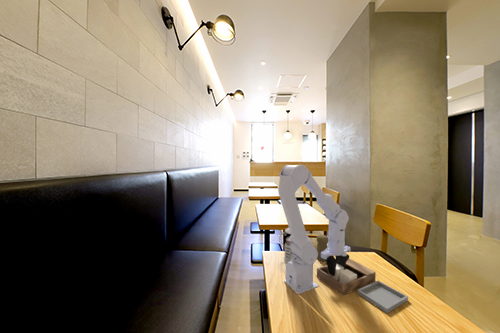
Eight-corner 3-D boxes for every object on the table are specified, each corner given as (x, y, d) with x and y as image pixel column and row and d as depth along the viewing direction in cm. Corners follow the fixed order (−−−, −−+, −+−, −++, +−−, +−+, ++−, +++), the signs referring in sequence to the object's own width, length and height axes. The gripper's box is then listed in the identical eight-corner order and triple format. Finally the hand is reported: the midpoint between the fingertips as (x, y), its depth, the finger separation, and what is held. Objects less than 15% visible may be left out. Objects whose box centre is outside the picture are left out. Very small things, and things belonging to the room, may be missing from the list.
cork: (331, 262, 82) (331, 238, 81) (317, 262, 82) (318, 238, 82) (325, 255, 88) (326, 233, 88) (313, 255, 88) (313, 233, 88)
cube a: (336, 280, 68) (336, 269, 68) (327, 274, 72) (328, 264, 72) (343, 277, 70) (343, 267, 70) (334, 272, 73) (335, 262, 73)
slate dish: (387, 314, 53) (387, 308, 53) (357, 294, 61) (357, 289, 61) (408, 301, 58) (408, 296, 58) (378, 285, 66) (378, 280, 66)
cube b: (349, 288, 63) (349, 277, 63) (339, 282, 67) (339, 271, 67) (356, 285, 65) (356, 274, 65) (346, 279, 69) (346, 268, 69)
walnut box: (343, 296, 60) (343, 284, 60) (316, 276, 71) (316, 267, 71) (375, 281, 68) (375, 271, 68) (347, 266, 79) (347, 257, 78)
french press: (301, 269, 76) (302, 210, 76) (275, 261, 82) (276, 206, 82) (306, 259, 84) (307, 205, 84) (283, 252, 90) (284, 202, 90)
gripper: (332, 246, 64) (331, 284, 64) (358, 239, 70) (357, 273, 70) (316, 238, 70) (316, 273, 70) (341, 233, 77) (341, 264, 77)
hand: (335, 273), depth 71 cm, fingers closed on cube a, 4 cm apart
